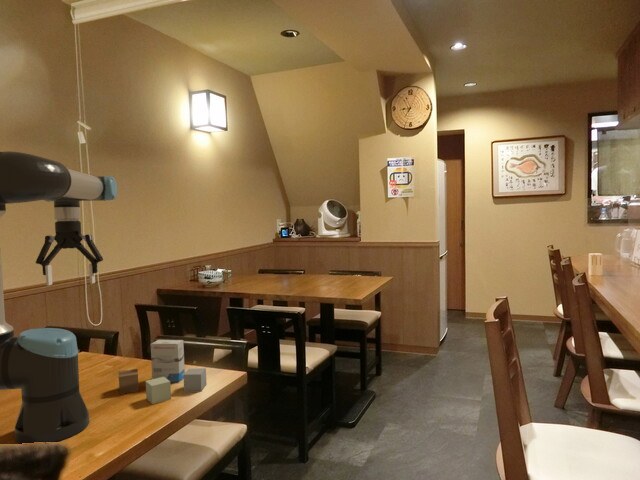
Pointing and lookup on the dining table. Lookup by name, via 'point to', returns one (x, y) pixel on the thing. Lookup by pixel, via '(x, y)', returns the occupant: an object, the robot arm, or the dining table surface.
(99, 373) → the dining table surface
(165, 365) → the ink box
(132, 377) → the walnut cube
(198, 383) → the slate cube
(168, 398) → the sage cube
